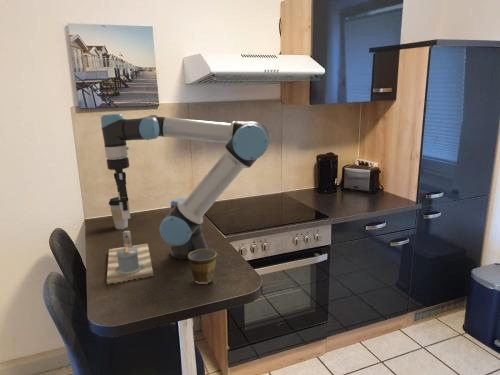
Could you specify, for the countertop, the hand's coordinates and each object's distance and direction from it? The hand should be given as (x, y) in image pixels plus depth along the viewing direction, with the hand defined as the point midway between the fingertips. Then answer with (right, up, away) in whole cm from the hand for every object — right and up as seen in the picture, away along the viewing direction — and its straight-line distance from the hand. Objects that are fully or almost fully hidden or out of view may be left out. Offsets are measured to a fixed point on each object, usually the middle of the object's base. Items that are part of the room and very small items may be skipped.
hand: (125, 213), depth 144 cm
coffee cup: (-18, -11, +51) cm, 55 cm away
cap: (+1, -20, +1) cm, 20 cm away
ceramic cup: (+29, -23, -7) cm, 38 cm away
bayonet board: (-1, -20, +9) cm, 22 cm away
